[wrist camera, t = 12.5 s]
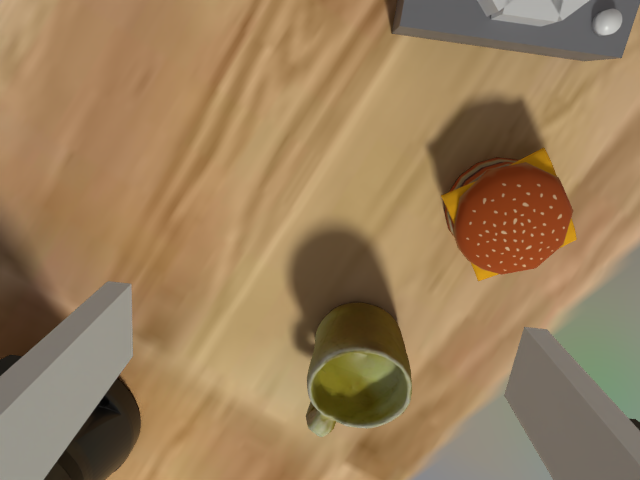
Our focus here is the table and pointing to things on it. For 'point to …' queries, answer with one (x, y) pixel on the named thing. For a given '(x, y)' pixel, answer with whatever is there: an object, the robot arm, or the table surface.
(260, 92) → the table surface
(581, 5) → the camera body
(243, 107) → the table surface
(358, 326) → the mug
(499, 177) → the hamburger
